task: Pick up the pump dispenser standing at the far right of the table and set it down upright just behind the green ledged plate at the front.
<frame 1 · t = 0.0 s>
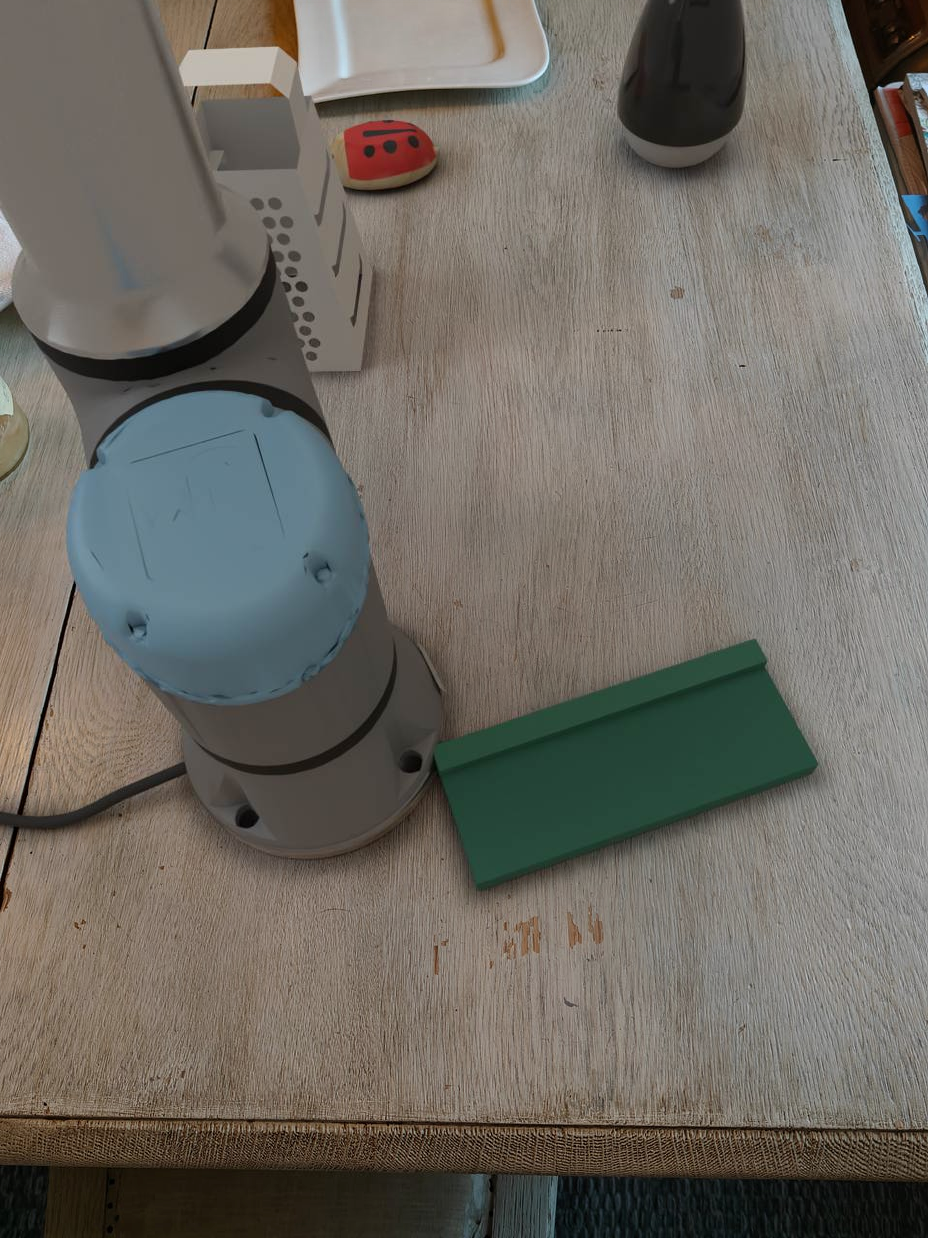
grater: (300, 323, 74), on the table
ladybug figurine: (383, 172, 83), on the table
green ledged plate: (620, 767, 55), on the table
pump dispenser: (673, 148, 82), on the table
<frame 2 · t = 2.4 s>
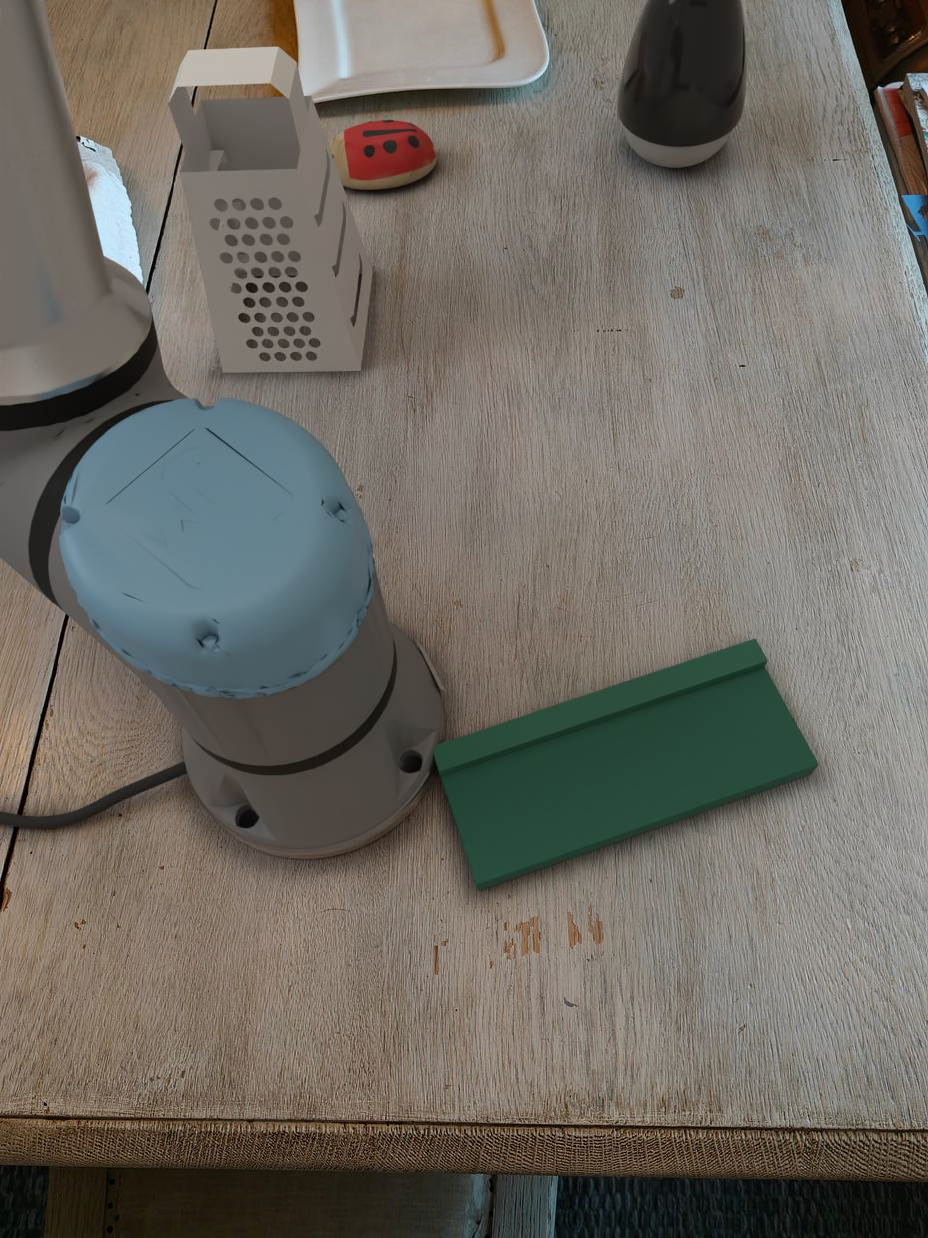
nothing on the table moved.
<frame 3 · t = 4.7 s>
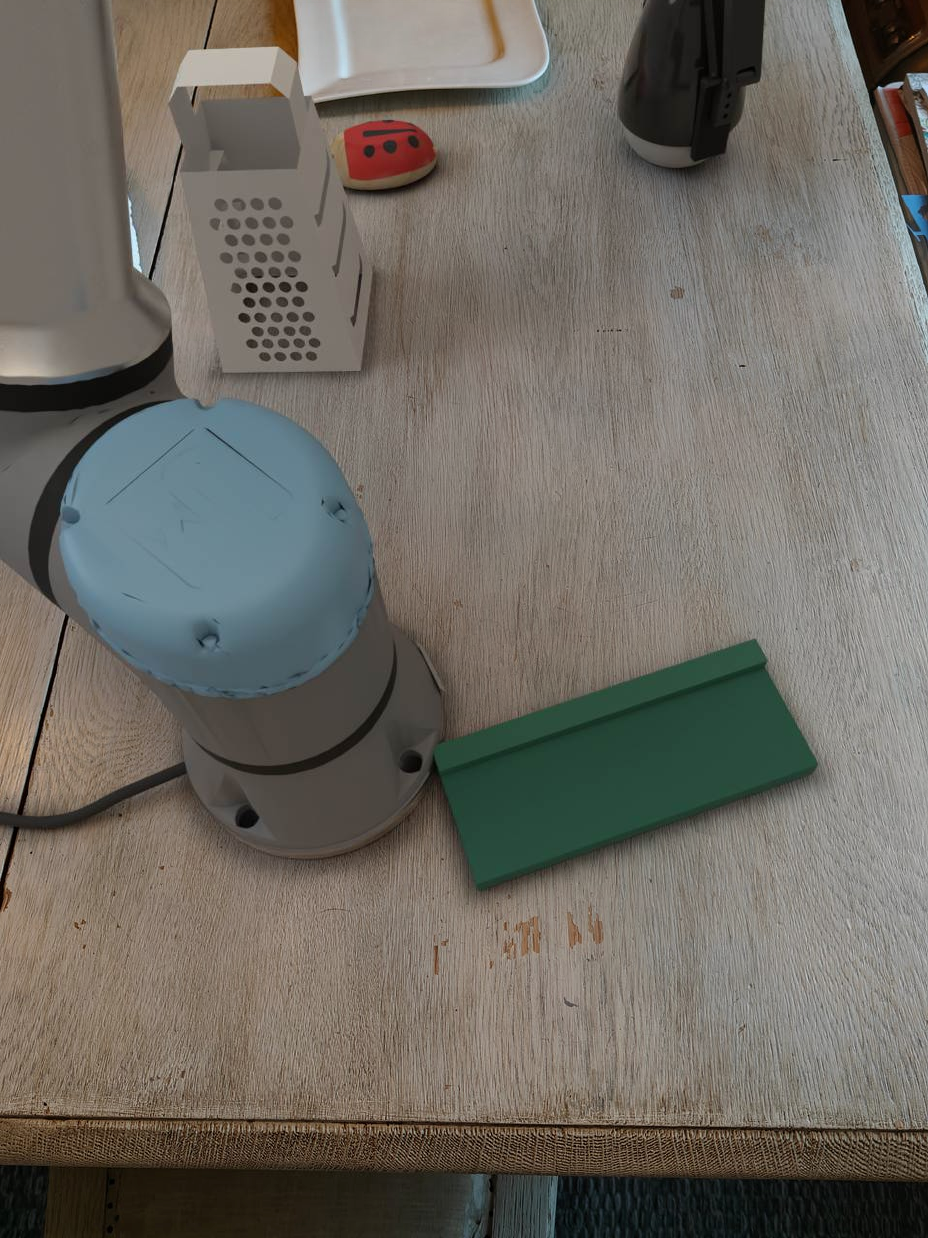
hand: (678, 116, 79), 3 cm above the table, tool pointing down, fingers closed on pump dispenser, 10 cm apart
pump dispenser: (673, 148, 82), on the table, touching gripper
everything else where it was.
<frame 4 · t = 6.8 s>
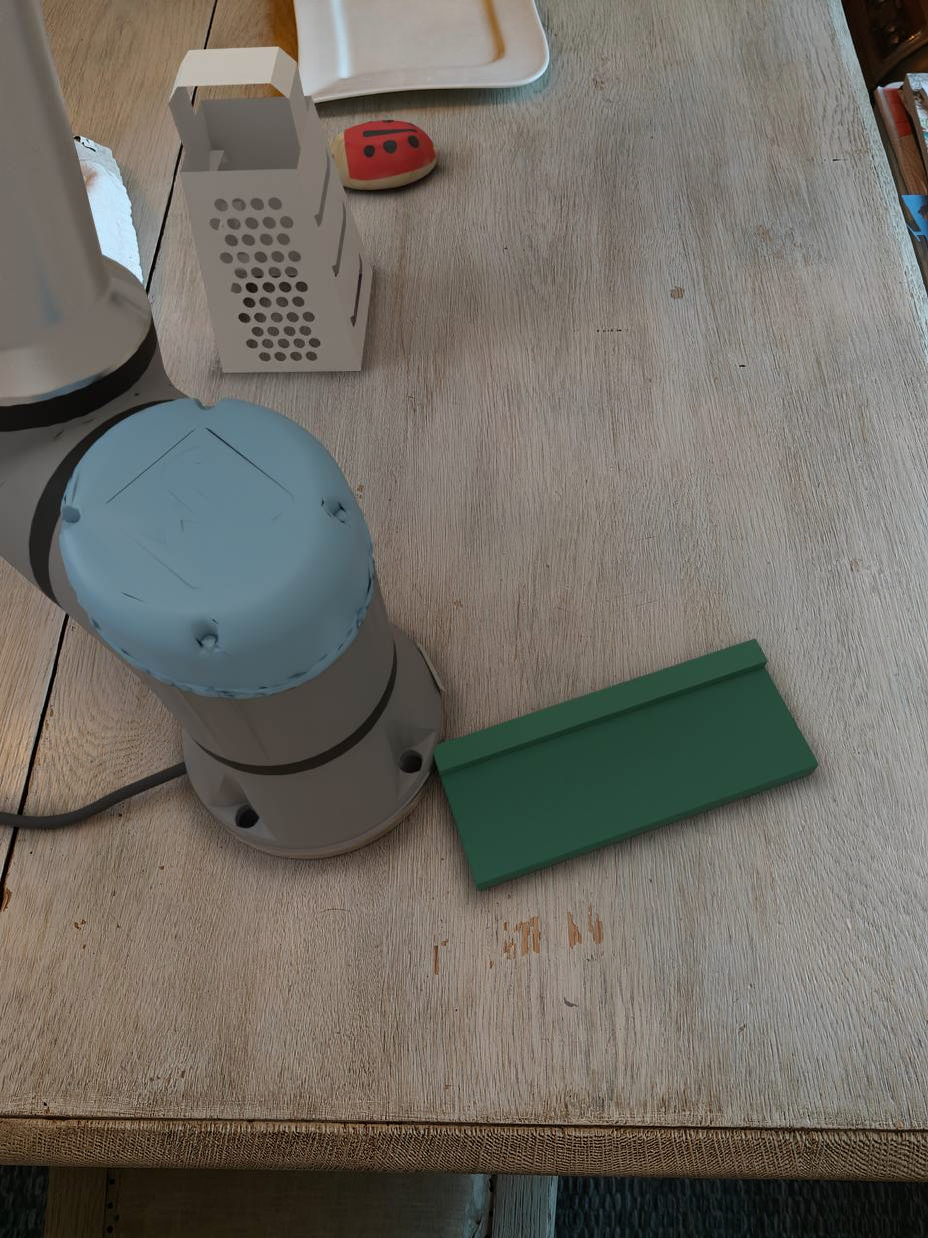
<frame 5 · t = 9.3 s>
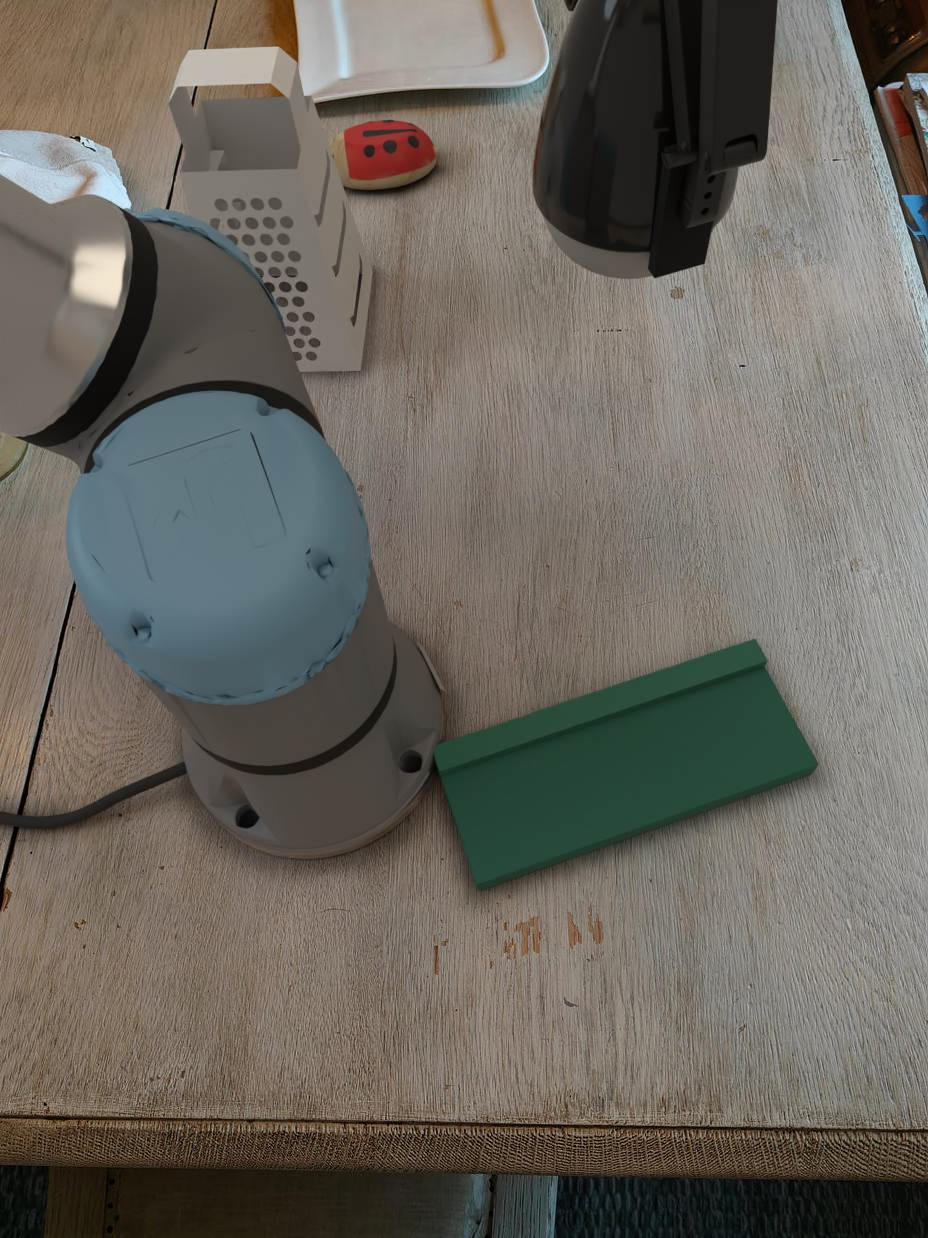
hand: (630, 199, 50), 19 cm above the table, tool pointing down, fingers closed on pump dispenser, 10 cm apart
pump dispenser: (624, 244, 52), point 17 cm above the table, touching gripper
everything else where it was.
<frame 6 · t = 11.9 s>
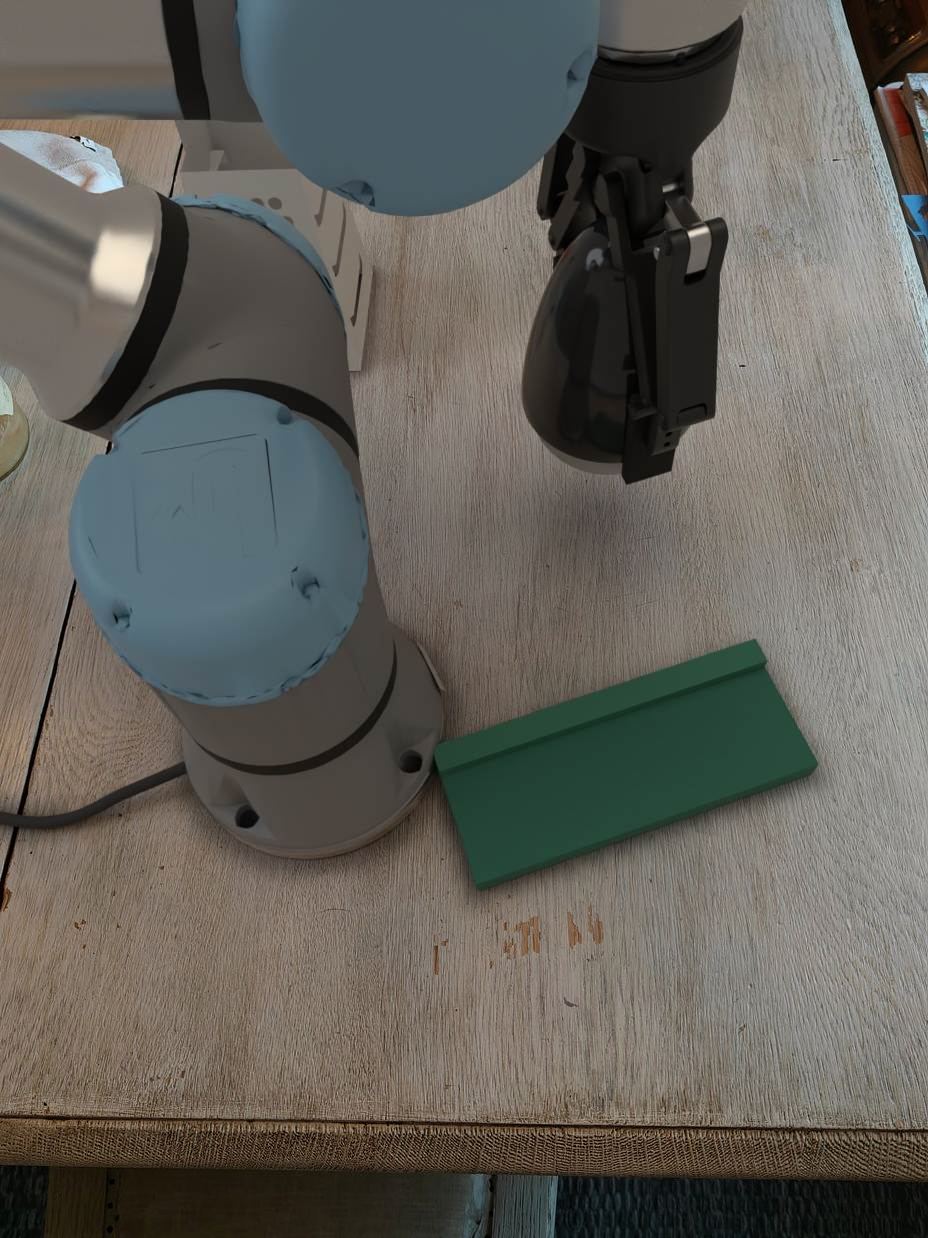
hand: (608, 404, 56), 9 cm above the table, tool pointing down, fingers closed on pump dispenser, 10 cm apart
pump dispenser: (604, 435, 59), point 6 cm above the table, touching gripper
everything else where it was.
when the fingers open (3 cm above the table, at t = 14.1 s): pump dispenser stays where it is, on the table.
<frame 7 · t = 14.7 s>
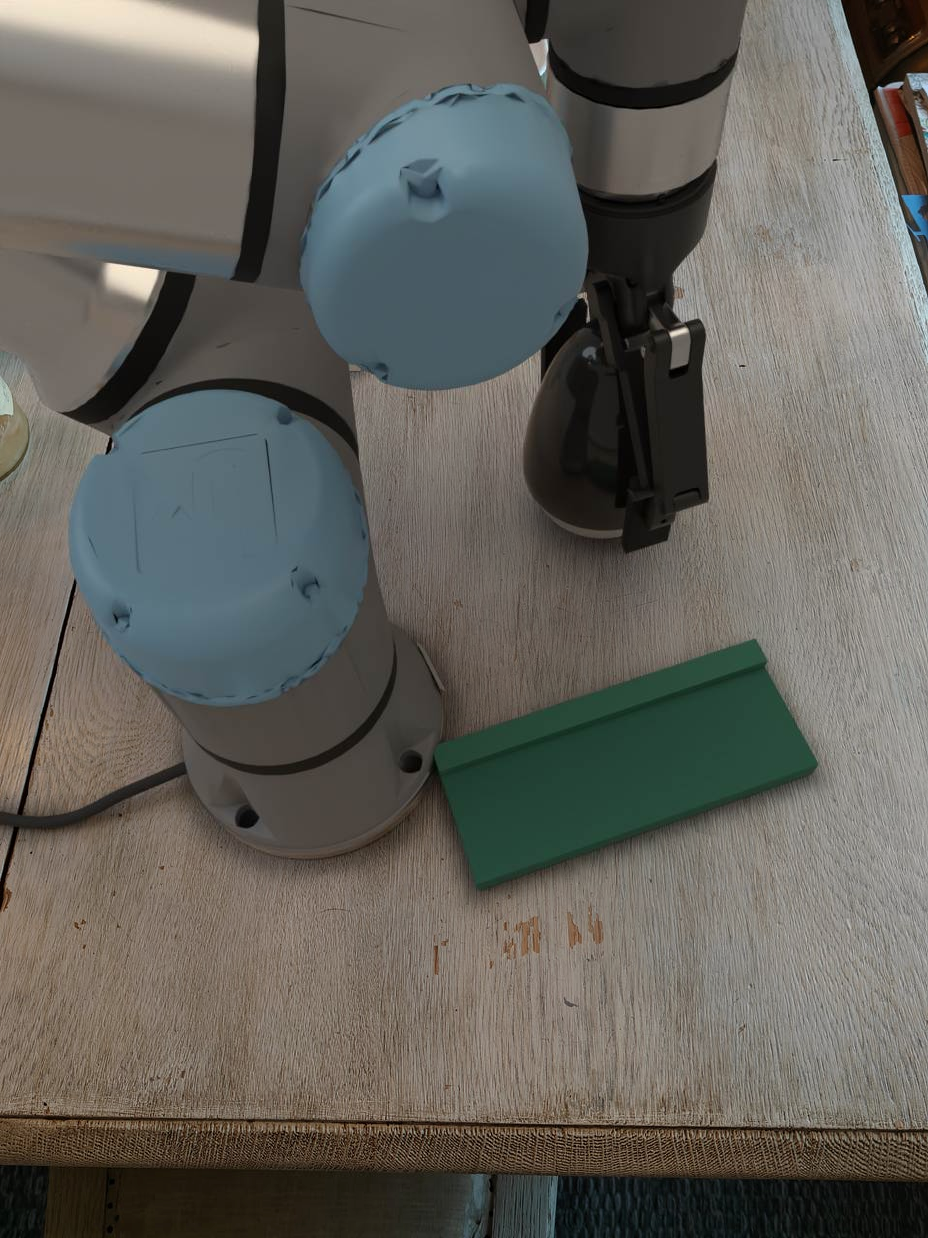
hand: (600, 458, 60), 4 cm above the table, tool pointing down, fingers open, 13 cm apart
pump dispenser: (598, 499, 64), on the table
everything else where it was.
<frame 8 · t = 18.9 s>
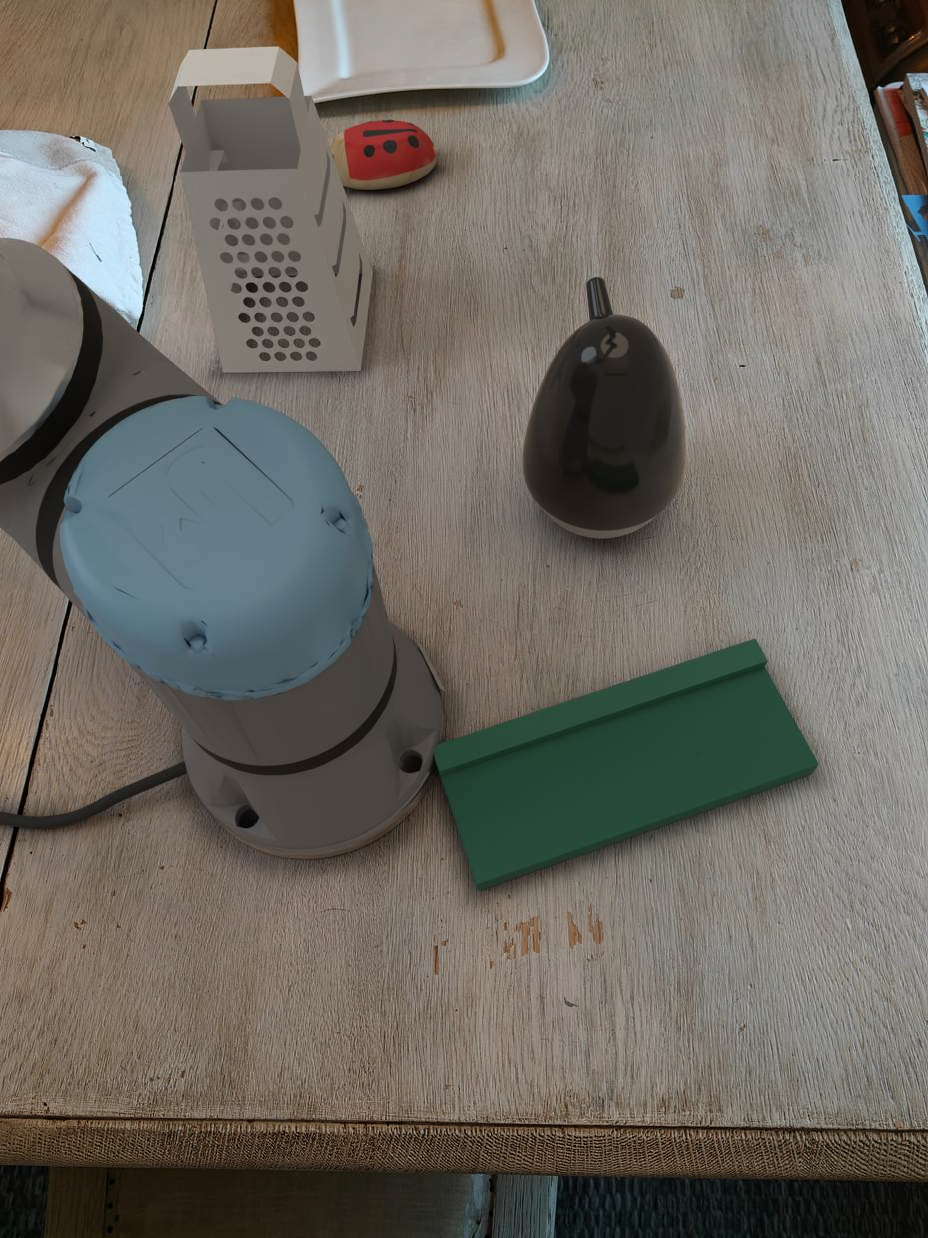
nothing on the table moved.
at the end: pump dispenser inside the target area on the table beside the green ledged plate (1.1 cm from its centre), on the table; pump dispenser tilted 0°; the gripper is holding nothing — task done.
